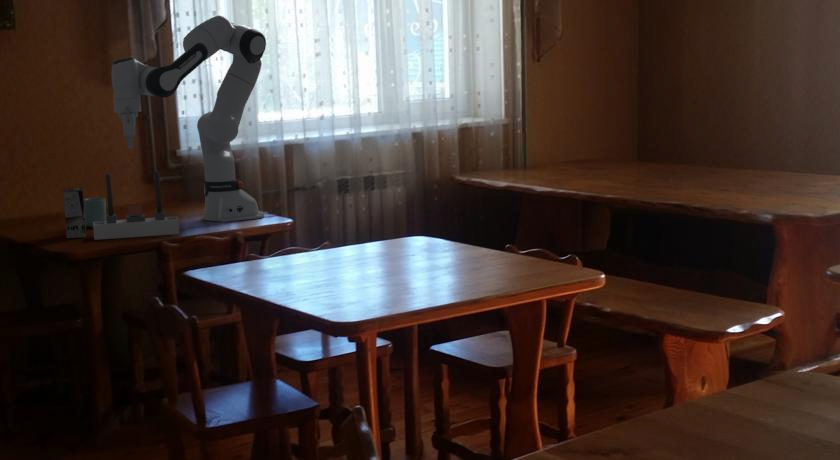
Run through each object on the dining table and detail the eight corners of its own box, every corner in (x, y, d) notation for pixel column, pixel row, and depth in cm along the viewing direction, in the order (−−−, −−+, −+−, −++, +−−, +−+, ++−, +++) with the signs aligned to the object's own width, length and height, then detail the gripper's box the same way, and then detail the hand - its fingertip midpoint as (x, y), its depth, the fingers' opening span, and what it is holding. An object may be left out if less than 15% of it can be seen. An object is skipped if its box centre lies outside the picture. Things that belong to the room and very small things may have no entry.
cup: (103, 228, 375) (101, 200, 374) (81, 228, 376) (79, 201, 374) (110, 224, 383) (108, 197, 381) (88, 224, 383) (86, 197, 381)
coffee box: (86, 237, 359) (82, 190, 356) (66, 238, 357) (62, 191, 354) (86, 232, 368) (83, 186, 365) (67, 234, 366) (63, 188, 363)
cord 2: (164, 217, 365) (161, 170, 362) (164, 219, 361) (161, 172, 358) (155, 218, 364) (152, 171, 361) (155, 220, 360) (152, 172, 357)
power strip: (178, 230, 368) (177, 211, 367) (179, 233, 361) (178, 214, 360) (94, 236, 361) (93, 217, 360) (94, 239, 354) (92, 220, 353)
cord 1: (116, 221, 360) (112, 173, 357) (116, 222, 357) (112, 174, 354) (107, 221, 360) (103, 173, 357) (107, 223, 356) (103, 175, 353)
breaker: (142, 215, 361) (141, 205, 361) (142, 214, 360) (141, 205, 360) (129, 215, 360) (128, 206, 360) (129, 215, 359) (128, 205, 359)
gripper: (137, 108, 344) (140, 150, 347) (136, 104, 363) (140, 144, 366) (117, 109, 342) (121, 151, 345) (117, 105, 362) (121, 145, 364)
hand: (130, 148), depth 356 cm, fingers closed
